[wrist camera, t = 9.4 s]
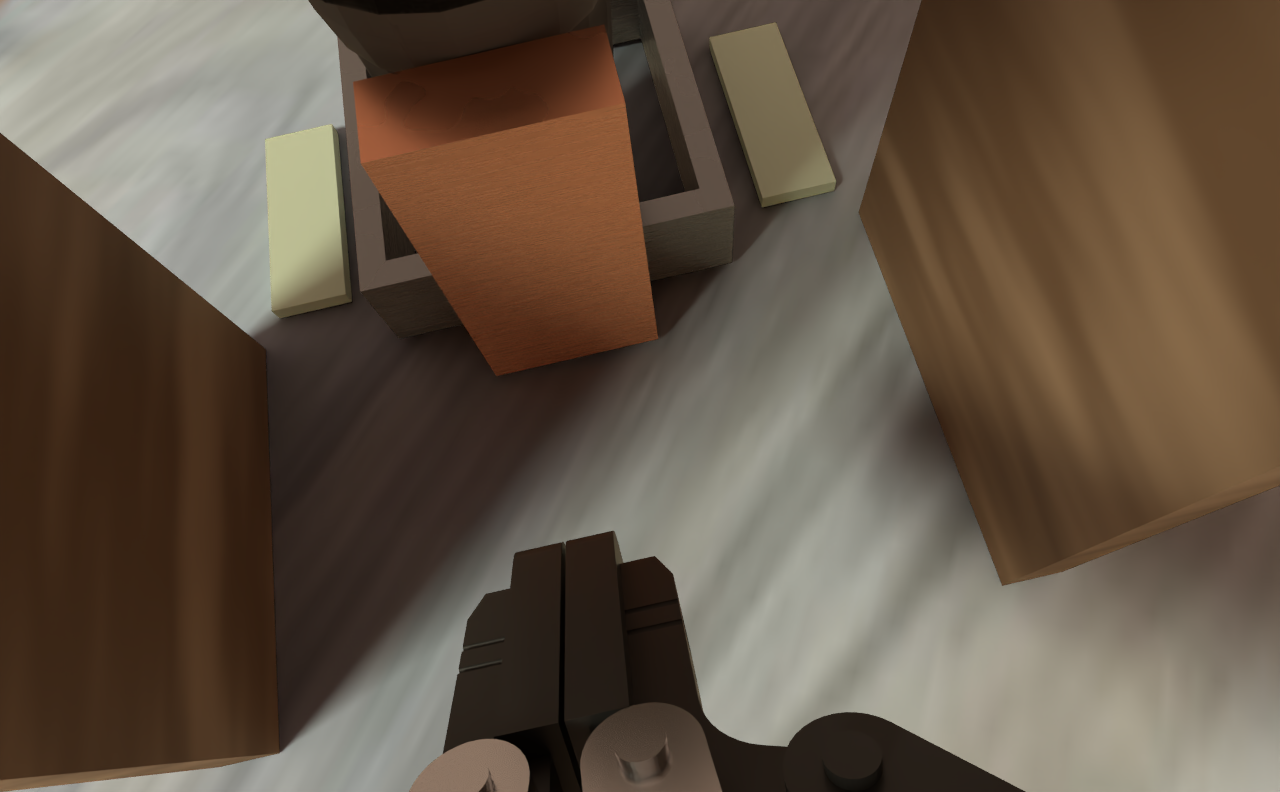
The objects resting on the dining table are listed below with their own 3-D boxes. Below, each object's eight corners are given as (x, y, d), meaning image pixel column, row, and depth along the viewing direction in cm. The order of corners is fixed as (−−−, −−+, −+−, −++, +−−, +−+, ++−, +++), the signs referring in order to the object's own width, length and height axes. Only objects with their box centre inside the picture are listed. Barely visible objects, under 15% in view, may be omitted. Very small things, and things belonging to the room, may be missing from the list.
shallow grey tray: (657, 17, 29) (632, -316, 19) (748, 318, 24) (772, 68, 15) (372, 82, 29) (209, -219, 19) (405, 396, 24) (212, 197, 15)
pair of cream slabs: (774, 33, 28) (776, 22, 28) (834, 190, 26) (836, 181, 25) (272, 148, 28) (265, 139, 28) (280, 318, 26) (271, 311, 25)
